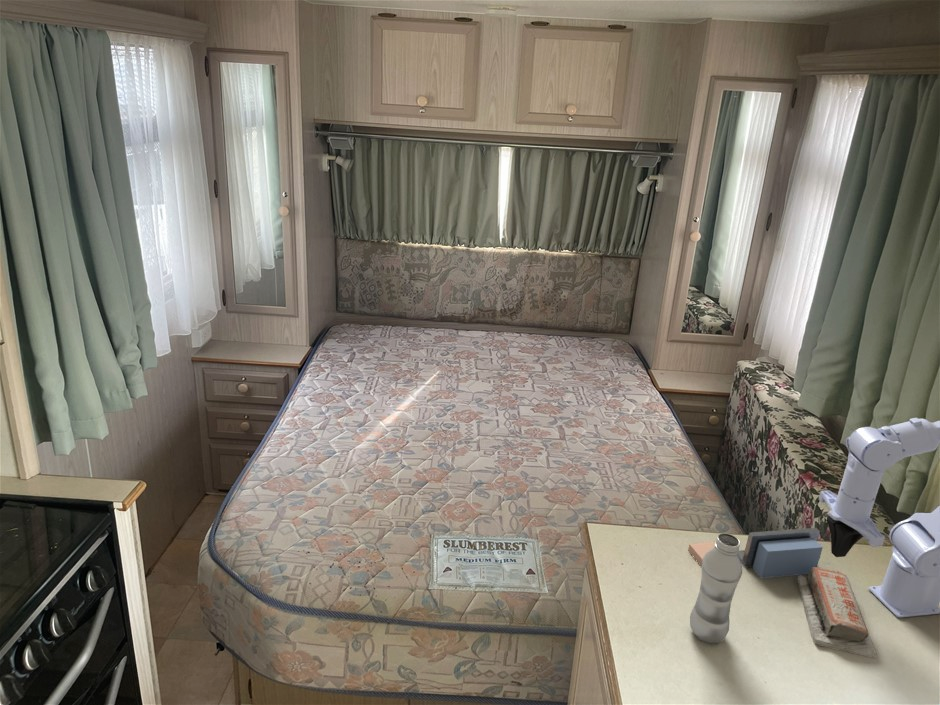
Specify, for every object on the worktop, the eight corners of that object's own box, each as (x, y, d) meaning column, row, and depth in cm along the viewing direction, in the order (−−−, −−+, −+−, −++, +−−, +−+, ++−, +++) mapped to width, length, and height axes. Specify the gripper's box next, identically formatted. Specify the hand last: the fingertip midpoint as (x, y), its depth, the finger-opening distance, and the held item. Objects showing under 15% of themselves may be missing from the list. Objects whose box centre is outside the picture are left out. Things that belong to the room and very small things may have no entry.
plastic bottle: (701, 651, 117) (724, 555, 109) (679, 622, 123) (700, 529, 115) (734, 645, 118) (758, 550, 111) (711, 617, 124) (733, 525, 117)
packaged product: (800, 560, 134) (856, 571, 132) (794, 580, 136) (849, 591, 134) (819, 625, 118) (883, 639, 116) (812, 646, 120) (875, 660, 118)
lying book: (721, 547, 144) (723, 540, 144) (735, 563, 140) (737, 555, 139) (687, 552, 143) (689, 544, 142) (700, 567, 138) (702, 559, 137)
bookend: (798, 548, 145) (806, 518, 142) (810, 561, 141) (819, 531, 138) (733, 553, 142) (741, 523, 139) (744, 567, 138) (752, 536, 136)
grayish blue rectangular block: (805, 564, 141) (813, 537, 138) (814, 573, 138) (822, 547, 135) (752, 568, 138) (759, 541, 136) (760, 578, 136) (768, 551, 133)
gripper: (812, 471, 129) (795, 532, 134) (866, 517, 115) (845, 582, 120) (845, 469, 130) (827, 529, 135) (903, 515, 117) (880, 579, 122)
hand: (838, 554), depth 128 cm, fingers closed
